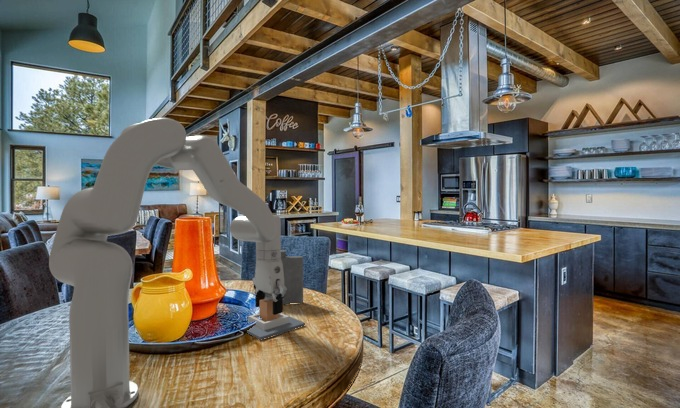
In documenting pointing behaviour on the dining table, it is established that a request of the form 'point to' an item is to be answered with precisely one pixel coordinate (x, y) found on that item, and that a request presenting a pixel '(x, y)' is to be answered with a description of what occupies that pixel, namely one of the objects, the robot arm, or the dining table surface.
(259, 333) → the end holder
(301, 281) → the hip flask
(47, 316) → the dining table surface
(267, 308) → the connector plug
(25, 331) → the dining table surface
